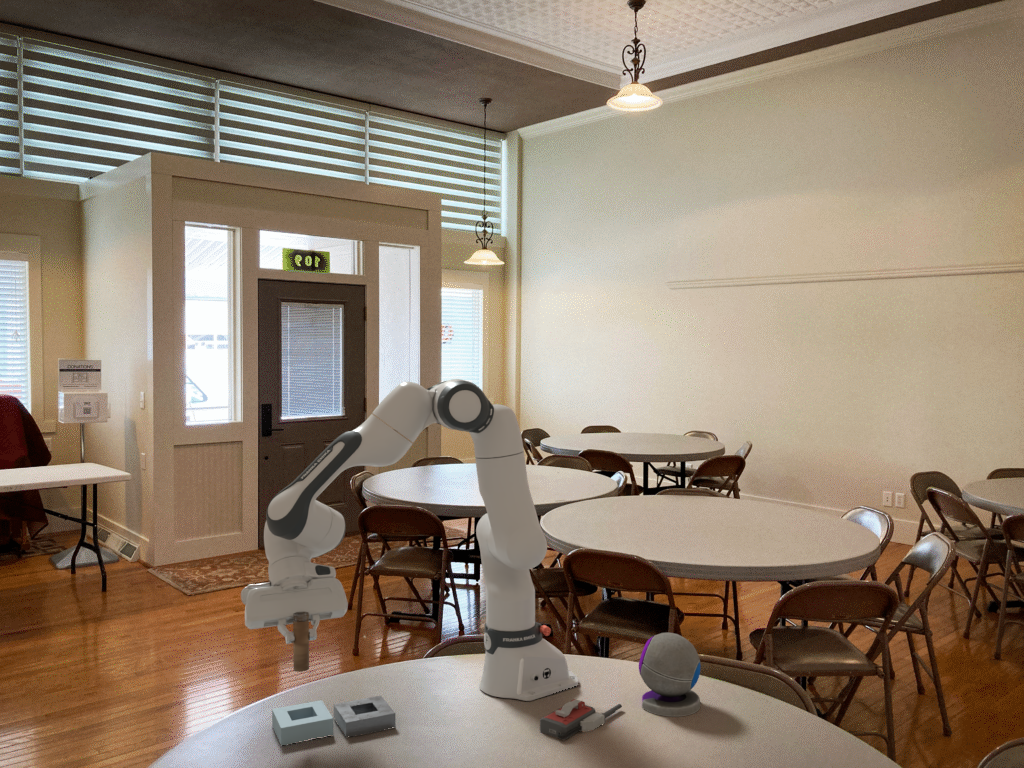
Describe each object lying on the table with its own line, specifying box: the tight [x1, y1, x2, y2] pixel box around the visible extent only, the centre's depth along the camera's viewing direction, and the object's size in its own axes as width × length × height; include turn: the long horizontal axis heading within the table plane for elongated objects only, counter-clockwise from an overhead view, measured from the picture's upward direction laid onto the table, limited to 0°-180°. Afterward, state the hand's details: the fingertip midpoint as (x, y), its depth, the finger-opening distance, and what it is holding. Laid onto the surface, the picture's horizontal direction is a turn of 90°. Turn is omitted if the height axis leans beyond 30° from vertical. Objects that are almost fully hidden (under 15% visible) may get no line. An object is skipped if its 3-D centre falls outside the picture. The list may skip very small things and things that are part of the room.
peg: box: [292, 612, 310, 673], centre depth 163 cm, size 3×3×11 cm
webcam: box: [638, 632, 701, 717], centre depth 175 cm, size 13×13×15 cm
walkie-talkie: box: [539, 698, 623, 740], centre depth 166 cm, size 9×4×20 cm
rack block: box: [271, 699, 334, 746], centre depth 163 cm, size 10×10×4 cm
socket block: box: [333, 695, 397, 738], centre depth 167 cm, size 10×10×3 cm
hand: (301, 640), depth 162 cm, fingers closed on peg, 3 cm apart
